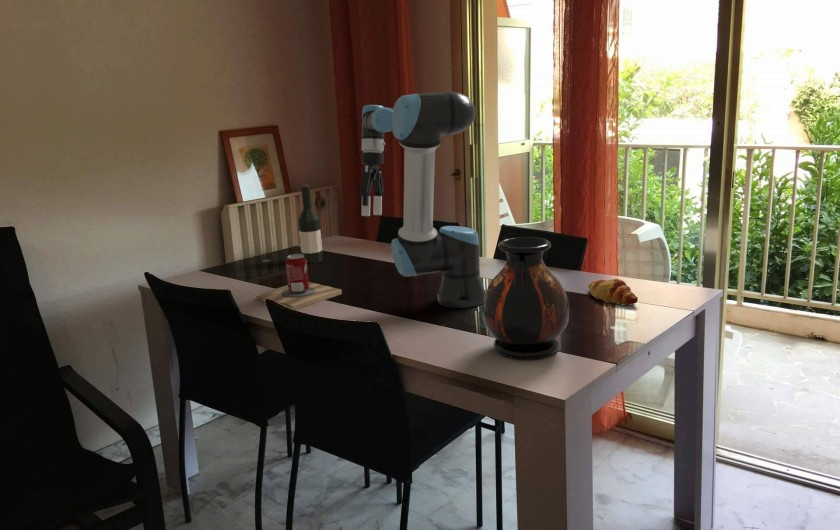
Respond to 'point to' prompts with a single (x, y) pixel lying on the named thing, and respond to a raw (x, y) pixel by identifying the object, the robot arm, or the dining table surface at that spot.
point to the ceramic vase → (525, 302)
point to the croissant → (612, 291)
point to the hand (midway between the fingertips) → (371, 215)
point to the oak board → (300, 295)
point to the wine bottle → (309, 229)
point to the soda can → (297, 273)
